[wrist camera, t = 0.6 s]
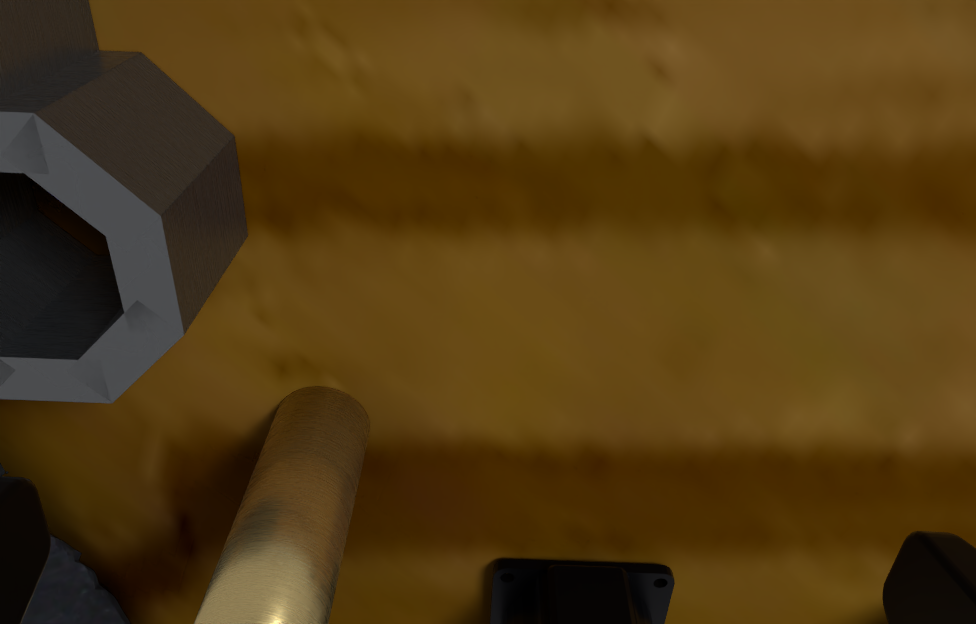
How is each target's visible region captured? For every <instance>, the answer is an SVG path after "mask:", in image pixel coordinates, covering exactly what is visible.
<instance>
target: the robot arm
mask: <svg viewBox="0 0 976 624" xmlns="http://www.w3.org/2000/svg"><path fill="white" fill-rule="evenodd" d="M50 547H51V537H50V532H49V528H48V525H47V522H46V518H45V515H44V512H43V509H42V505H41V502H40V499H39V495H38V492H37V489H36V487H35V485H34V484H33V483H32V482H31V481H30V480H29V479H26V478H20V477H3V476H0V624H21V622H22V620H23V617H24V615H25V612H26V610H27V608H28V605H29V603H30V601H31V598H32V596H33V594H34V591H35V589H36V586H37V584H38V582H39V579H40V577H41V575H42V572H43V570H44V568H45V565H46V563H47V560H48V557H49V553H50ZM506 573H508V574H506ZM673 587H674V577H673V573H672V570H671V569H670V568H669V567H667V566H665V565H654V564H626V563H597V562H569V561H541V560H512V559H506V560H501V561H499V562H497V563H496V564H495V565H494V568H493V582H492V597H491V612H490V624H664V623H665V619H666V615H667V611H668V607H669V603H670V599H671V595H672V591H673ZM883 605H884V609H885V613H886V616H887V620H888V623H889V624H976V548H974V547H973V546H972V545H970V544H969V543H967V542H966V541H965V540H963V539H962V538H960V537H959V536H957V535H954V534H951V533H945V532H929V531H916V532H912V533H911V534H910V535H908V536H907V537H906V539H905V540H904V542H903V545H902V547H901V549H900V551H899V553H898V555H897V557H896V559H895V562H894V564H893V566H892V568H891V570H890V572H889V574H888V576H887V579H886V581H885V583H884V588H883Z"/></svg>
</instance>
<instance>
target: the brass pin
mask: <svg viewBox="0 0 976 624" xmlns="http://www.w3.org/2000/svg"><path fill="white" fill-rule="evenodd" d="M369 432H370V422H369V418H368V415H367V413H366V411H365V410H364V408H363V407H362V406H361V405H360V403H359V402H357V401H356V400H355V399H354V398H352V397H351V396H350V395H348V394H346V393H344V392H342V391H339V390H336V389H333V388H328V387H307V388H303V389H300V390H297V391H295V392H293V393H291V394H290V395H288V396H287V397H286V398H285V399H284V400H283V401H282V402H281V404H280V405H279V407H278V410H277V412H276V415H275V417H274V420H273V423H272V425H271V428H270V430H269V433H268V435H267V438H266V440H265V443H264V446H263V448H262V451H261V453H260V456H259V458H258V461H257V464H256V466H255V469H254V471H253V474H252V476H251V479H250V481H249V484H248V487H247V489H246V492H245V494H244V497H243V499H242V502H241V504H240V507H239V510H238V512H237V515H236V517H235V520H234V522H233V525H232V528H231V530H230V533H229V535H228V538H227V540H226V543H225V545H224V548H223V551H222V553H221V556H220V558H219V561H218V563H217V566H216V569H215V571H214V574H213V576H212V579H211V581H210V584H209V586H208V589H207V592H206V594H205V597H204V599H203V602H202V604H201V607H200V609H199V612H198V615H197V617H196V620H195V622H194V624H328V622H329V617H330V613H331V608H332V603H333V599H334V594H335V590H336V585H337V580H338V576H339V571H340V566H341V562H342V557H343V553H344V548H345V543H346V539H347V534H348V530H349V525H350V520H351V516H352V511H353V506H354V502H355V497H356V493H357V488H358V483H359V479H360V474H361V469H362V465H363V460H364V456H365V451H366V446H367V442H368V437H369Z"/></svg>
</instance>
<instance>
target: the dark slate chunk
mask: <svg viewBox="0 0 976 624" xmlns="http://www.w3.org/2000/svg"><path fill="white" fill-rule="evenodd" d="M4 473H5V470H4V468H3V467H2V465H1V464H0V476H2V475H3V474H4ZM7 473H8V472H6V474H7ZM50 537H51V547H50V553H49V557H48V560H47V563H46V565H45V568H44V570H43V572H42V575H41V577H40V579H39V582H38V584H37V586H36V589H35V591H34V594H33V596H32V598H31V601H30V603H29V605H28V608H27V610H26V612H25V615H24V617H23V620H22V622H21V624H130V622H129V620H128V619H127V617H126V615H125V614H124V612H123V610H122V609H121V607H120V605H119V603H118V602H117V600H116V598H115V597H114V596H113V595H112V594H111V593H109V592H108V591H107V590H105V589H104V588H103V587H101V586H100V585H99V583H98V579H97V576H96V574H95V572H94V570H92V569H91V568H89V567H87V566H85V565H84V564H82V563H81V562H79V558H80V556H81V554H82V553H80V552H79V551H77V550H75V549H73V548H72V547H71V546H69V545H68V544H67V543H65V542H64V541H62V540H60V539H58V538H56V537H54V536H52V535H51V534H50Z"/></svg>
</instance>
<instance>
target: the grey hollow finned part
mask: <svg viewBox="0 0 976 624" xmlns="http://www.w3.org/2000/svg"><path fill="white" fill-rule="evenodd" d="M28 177H30V178H31V179H32V180H34V181H35V182H36V183H38V184H39V185H40V186H41V187H43V188H44V189H45V190H47V191H48V192H49V193H50V194H52V195H53V196H54V197H56V198H57V199H58V200H60V201H61V202H62V203H63V204H65V205H66V206H67V207H69V208H70V209H71V210H72V211H74V212H75V213H76V214H78V215H79V216H80V217H81V218H83V219H84V220H85V221H87V222H88V223H89V224H91V225H92V226H93V227H94V228H96V229H97V230H98V231H100V232H101V233H102V234H103V235H105V236H106V239H107V243H108V247H109V252H110V256H105V255H96V254H94V253H93V252H92V251H90V250H89V249H88V248H87V247H85V246H84V245H83V244H81V243H80V242H79V241H77V240H76V239H75V238H73V237H72V236H71V235H69V234H68V233H67V232H65V231H64V230H63V229H61V228H60V227H59V226H58V225H56V224H55V223H54V222H52V221H51V220H50V219H48V218H47V217H46V216H44V215H43V214H42V213H40V212H39V211H38V209H37V205H36V202H35V198H34V195H33V191H32V188H31V184H30V181H29V178H28ZM247 237H248V233H247V225H246V218H245V210H244V203H243V196H242V188H241V181H240V173H239V166H238V158H237V151H236V143H235V136H234V135H233V134H232V133H230V132H229V131H228V130H227V129H226V128H225V127H224V126H223V125H222V124H220V123H219V122H218V121H217V120H216V119H215V118H214V117H213V116H211V115H210V114H209V113H208V112H207V111H206V110H205V109H204V108H203V107H201V106H200V105H199V104H198V103H197V102H196V101H195V100H194V99H193V98H191V97H190V96H189V95H188V94H187V93H186V92H185V91H184V90H182V89H181V88H180V87H179V86H178V85H177V84H176V83H175V82H174V81H172V80H171V79H170V78H169V77H168V76H167V75H166V74H165V73H164V72H162V71H161V70H160V69H159V68H158V67H157V66H156V65H155V64H154V63H152V62H151V61H150V60H149V59H148V58H147V57H146V56H145V55H143V54H142V53H141V52H122V51H99V48H98V43H97V38H96V34H95V29H94V24H93V20H92V15H91V11H90V6H89V1H88V0H0V399H12V400H38V401H65V402H91V403H113V402H114V401H115V400H116V399H117V398H118V397H119V396H120V395H121V394H122V393H123V392H125V391H126V390H127V389H128V388H129V387H130V386H131V385H132V384H133V383H134V382H135V381H136V380H137V379H138V378H139V377H140V376H141V375H142V374H143V373H144V372H146V371H147V370H148V369H149V368H150V367H151V366H152V365H153V364H154V363H155V362H156V361H157V360H158V359H159V358H160V357H161V356H162V355H163V354H164V353H165V352H167V351H168V350H169V349H170V348H171V347H172V346H173V345H174V344H175V343H176V342H177V341H178V340H179V339H180V338H181V337H182V336H183V335H184V334H185V333H186V331H187V329H188V328H189V326H190V325H191V323H192V322H193V320H194V319H195V317H196V316H197V314H198V312H199V311H200V309H201V308H202V306H203V305H204V303H205V302H206V300H207V298H208V297H209V295H210V294H211V292H212V291H213V289H214V288H215V286H216V285H217V283H218V281H219V280H220V278H221V277H222V275H223V274H224V272H225V271H226V269H227V267H228V266H229V264H230V263H231V261H232V260H233V258H234V257H235V255H236V254H237V252H238V250H239V249H240V247H241V246H242V244H243V243H244V241H245V240H246V238H247Z"/></svg>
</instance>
